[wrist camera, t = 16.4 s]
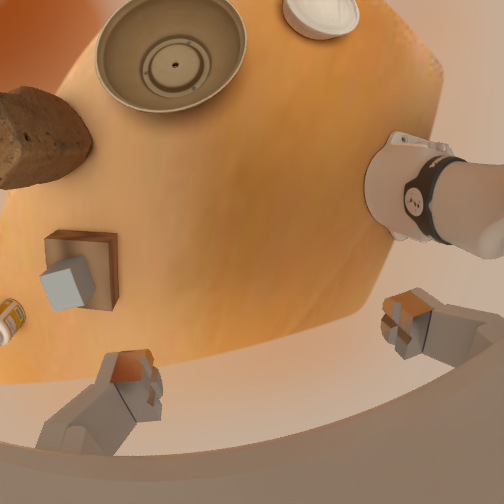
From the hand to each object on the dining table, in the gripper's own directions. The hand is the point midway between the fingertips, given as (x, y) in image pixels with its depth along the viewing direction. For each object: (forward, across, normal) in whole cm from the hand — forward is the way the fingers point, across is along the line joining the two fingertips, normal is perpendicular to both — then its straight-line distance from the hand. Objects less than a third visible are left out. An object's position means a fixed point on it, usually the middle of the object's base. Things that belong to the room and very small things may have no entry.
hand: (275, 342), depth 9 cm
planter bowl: (+33, +3, -19) cm, 38 cm away
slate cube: (+28, +21, +6) cm, 36 cm away
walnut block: (+33, +21, +6) cm, 40 cm away
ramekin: (+33, -18, -27) cm, 47 cm away
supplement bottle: (+33, +40, +12) cm, 53 cm away
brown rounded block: (+33, +20, -13) cm, 41 cm away
